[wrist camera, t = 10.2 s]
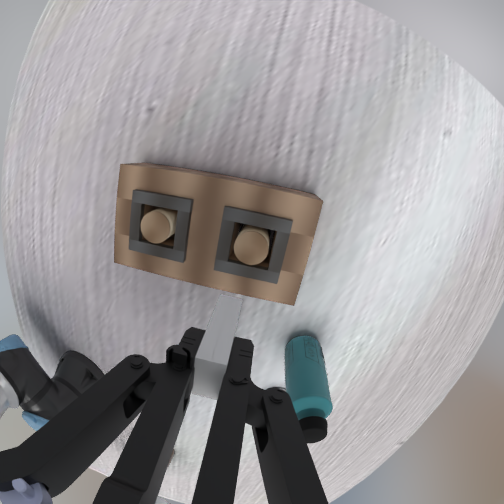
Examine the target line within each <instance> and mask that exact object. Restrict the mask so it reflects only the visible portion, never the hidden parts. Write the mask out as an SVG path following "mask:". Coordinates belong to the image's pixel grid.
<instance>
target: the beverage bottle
mask: <svg viewBox="0 0 504 504" xmlns="http://www.w3.org/2000/svg"><path fill="white" fill-rule="evenodd" d="M284 350H285V369H284V370H285V379H286V382H285V383H286V392H287V393H288V394H289V396H290V398H291V400H292V403H293V406H294V409H295V412H296V415H297V418H298V420H299V423H300V426H301V429H302V432H303V435H304V437H305V440H306V443H315V442H319V441H321V440H323V439H324V438H325V437H326V436H327V420H326V418H327V417H328V416H329V415H330V413H331V411H332V409H333V406H332V402H331V397H330V392H329V386H328V380H327V374H326V370H325V368H326V367H325V365H326V364H325V365H324V363H325V361H324V360H323V358H324V356H323V351H322V348H321V345H320V344H319V342H318V341H317V340H316V339H315V338H313V337H310V336H298V337H296V338H294V339H292V340H291V341H290V342H289V343H288V344H287V346H286V348H285V349H284Z"/></svg>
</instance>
